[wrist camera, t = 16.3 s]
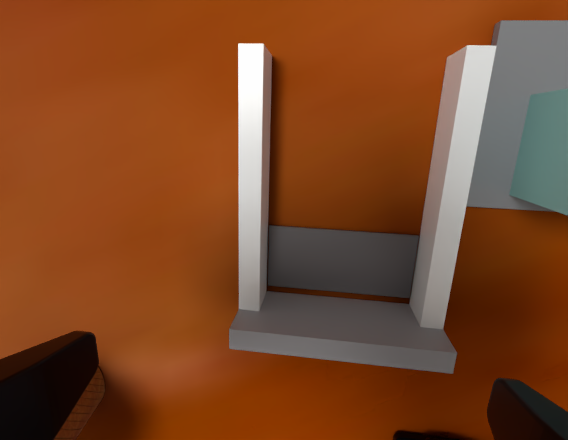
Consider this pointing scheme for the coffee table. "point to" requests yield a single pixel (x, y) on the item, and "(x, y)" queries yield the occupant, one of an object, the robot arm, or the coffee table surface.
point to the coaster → (515, 104)
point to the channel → (355, 242)
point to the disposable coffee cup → (83, 408)
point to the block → (544, 153)
